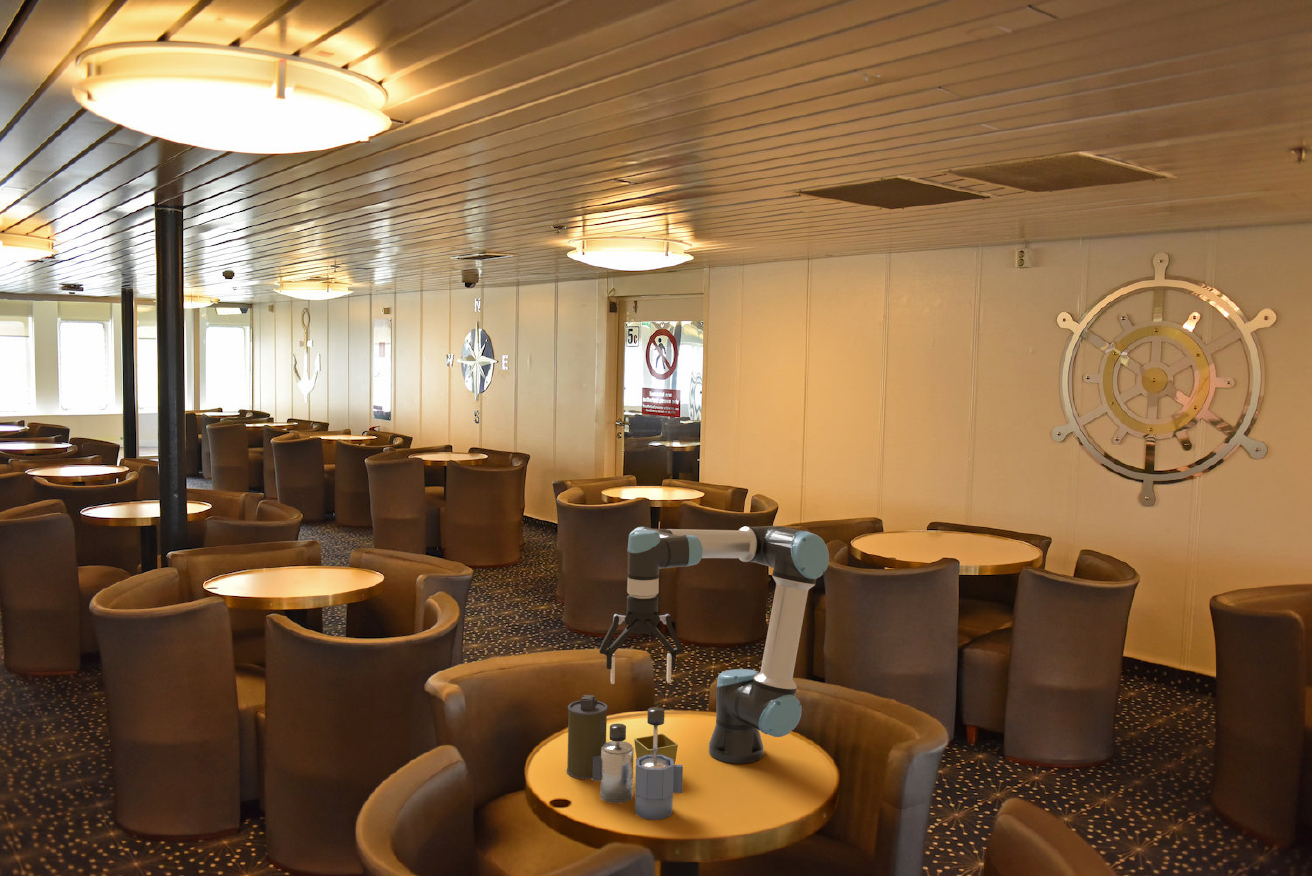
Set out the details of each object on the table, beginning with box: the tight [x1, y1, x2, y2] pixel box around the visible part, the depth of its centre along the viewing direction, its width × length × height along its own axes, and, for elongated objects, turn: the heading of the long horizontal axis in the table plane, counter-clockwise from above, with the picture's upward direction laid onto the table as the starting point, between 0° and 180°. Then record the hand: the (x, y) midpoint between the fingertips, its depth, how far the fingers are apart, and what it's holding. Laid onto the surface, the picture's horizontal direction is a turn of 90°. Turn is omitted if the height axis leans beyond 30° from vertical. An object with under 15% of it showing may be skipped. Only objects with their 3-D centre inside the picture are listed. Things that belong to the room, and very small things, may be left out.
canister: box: [566, 694, 608, 780], centre depth 247 cm, size 11×10×20 cm
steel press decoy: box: [591, 723, 635, 804], centre depth 233 cm, size 10×8×18 cm
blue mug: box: [634, 755, 684, 821], centre depth 225 cm, size 11×9×12 cm
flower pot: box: [633, 733, 679, 765], centre depth 246 cm, size 9×9×9 cm
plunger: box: [641, 706, 669, 769], centre depth 224 cm, size 7×7×14 cm
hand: (640, 682), depth 227 cm, fingers open, 13 cm apart
